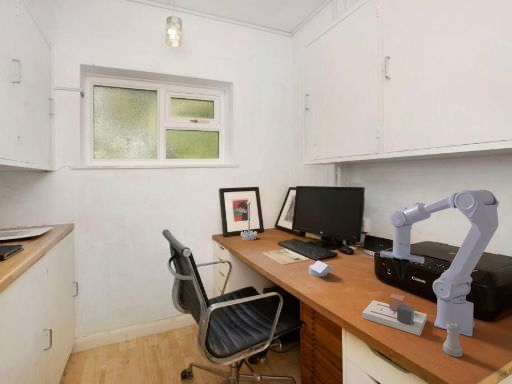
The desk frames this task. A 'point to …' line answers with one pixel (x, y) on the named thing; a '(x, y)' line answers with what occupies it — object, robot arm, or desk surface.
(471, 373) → the desk surface
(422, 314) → the fader console
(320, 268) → the wedge on round base
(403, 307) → the charcoal fader
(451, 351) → the rook chess piece
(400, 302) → the brick fader
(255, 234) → the flag stand
